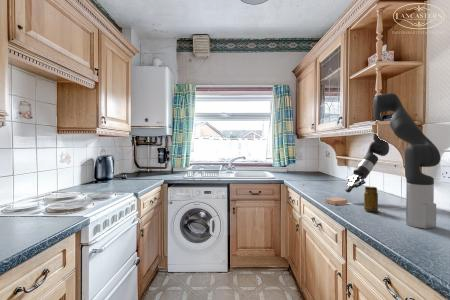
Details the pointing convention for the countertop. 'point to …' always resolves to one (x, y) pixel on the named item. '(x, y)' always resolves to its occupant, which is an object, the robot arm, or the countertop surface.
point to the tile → (336, 201)
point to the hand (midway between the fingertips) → (347, 191)
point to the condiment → (371, 200)
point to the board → (345, 204)
